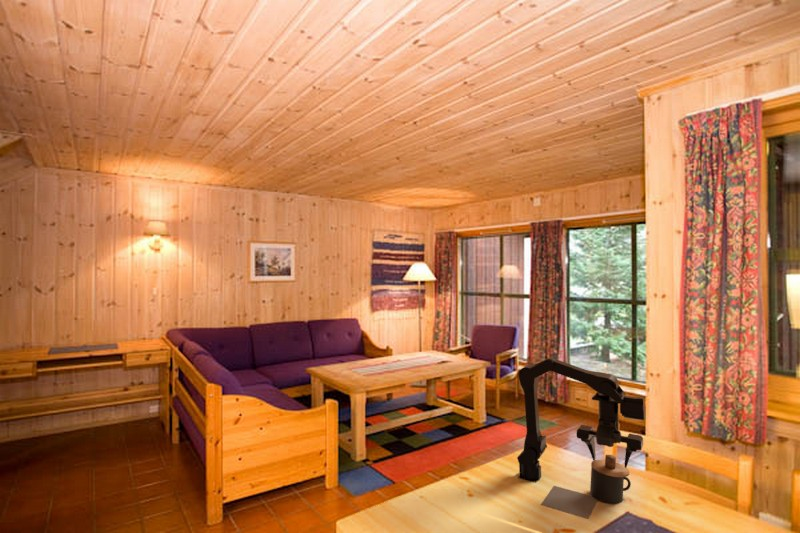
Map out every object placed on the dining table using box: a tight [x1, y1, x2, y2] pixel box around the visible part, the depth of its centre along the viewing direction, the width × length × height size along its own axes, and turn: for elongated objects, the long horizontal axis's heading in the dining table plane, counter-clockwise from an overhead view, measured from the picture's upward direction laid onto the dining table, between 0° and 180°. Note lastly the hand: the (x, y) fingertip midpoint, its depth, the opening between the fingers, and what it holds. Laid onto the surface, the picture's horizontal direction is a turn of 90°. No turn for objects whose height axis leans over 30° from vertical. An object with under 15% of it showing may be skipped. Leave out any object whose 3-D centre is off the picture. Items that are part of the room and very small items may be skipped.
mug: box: [589, 465, 632, 505], centre depth 140 cm, size 9×12×9 cm
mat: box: [540, 485, 598, 520], centre depth 137 cm, size 14×14×1 cm
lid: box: [590, 454, 630, 477], centre depth 140 cm, size 11×11×4 cm
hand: (609, 463), depth 140 cm, fingers open, 9 cm apart
